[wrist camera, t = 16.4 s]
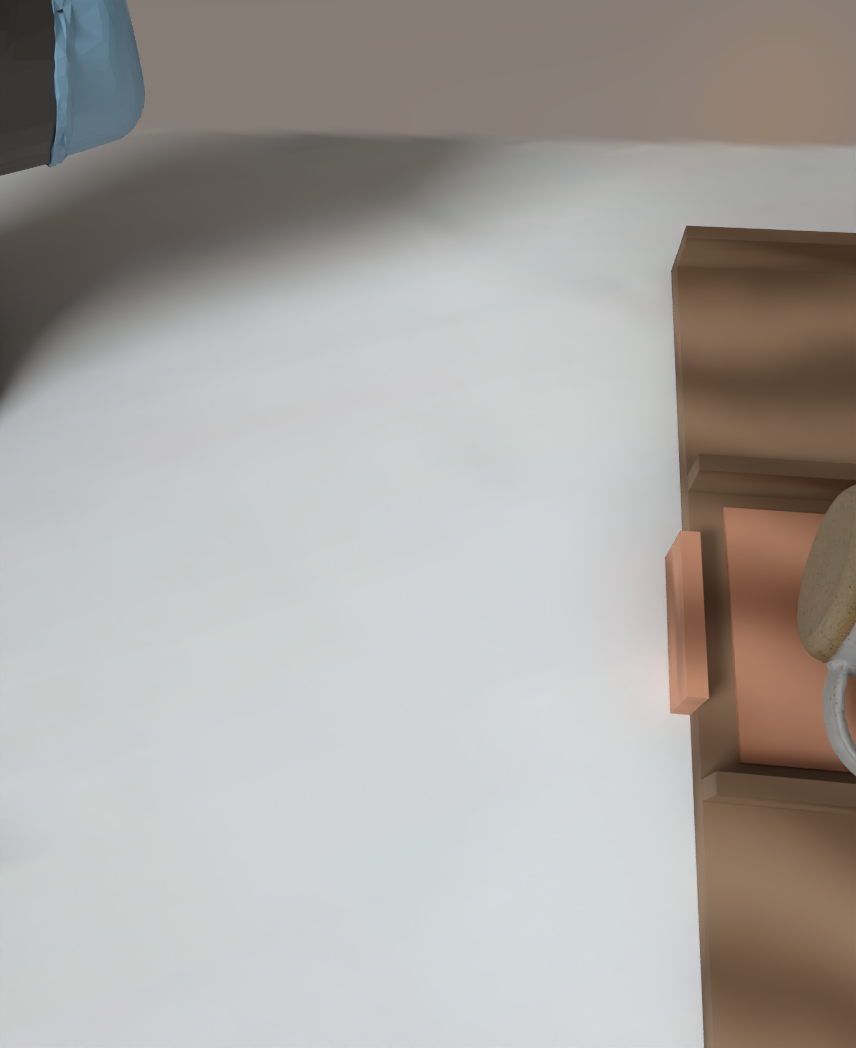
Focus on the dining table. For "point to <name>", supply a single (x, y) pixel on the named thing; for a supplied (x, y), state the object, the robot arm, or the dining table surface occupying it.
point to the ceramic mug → (833, 615)
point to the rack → (764, 626)
